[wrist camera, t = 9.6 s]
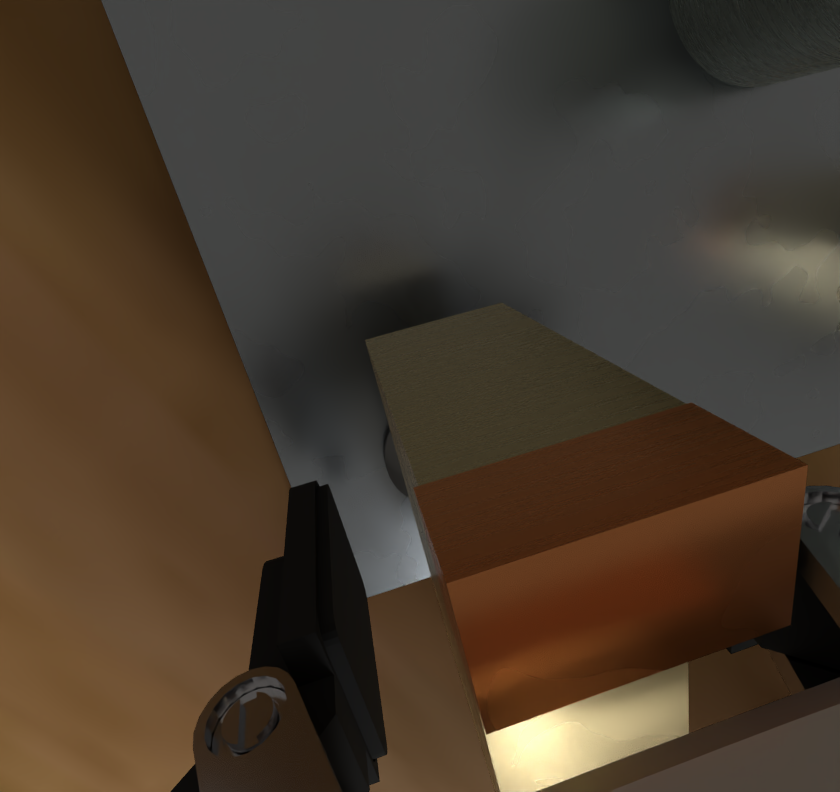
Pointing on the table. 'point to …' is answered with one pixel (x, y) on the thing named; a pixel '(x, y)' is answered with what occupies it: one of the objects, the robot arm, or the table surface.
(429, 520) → the knob
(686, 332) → the level plate
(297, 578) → the robot arm
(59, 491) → the table surface
